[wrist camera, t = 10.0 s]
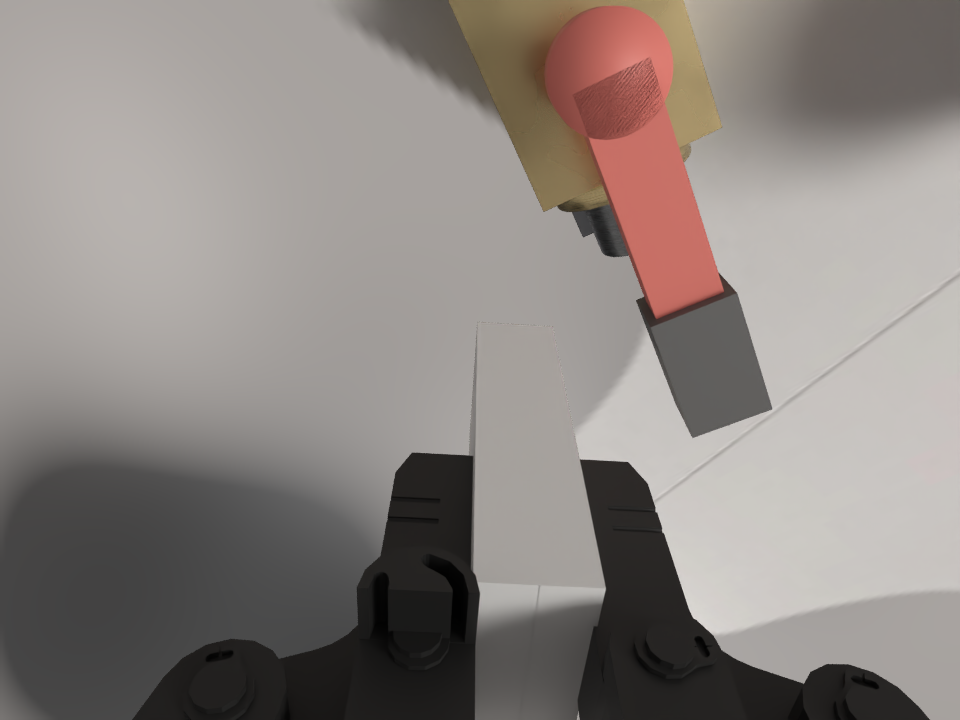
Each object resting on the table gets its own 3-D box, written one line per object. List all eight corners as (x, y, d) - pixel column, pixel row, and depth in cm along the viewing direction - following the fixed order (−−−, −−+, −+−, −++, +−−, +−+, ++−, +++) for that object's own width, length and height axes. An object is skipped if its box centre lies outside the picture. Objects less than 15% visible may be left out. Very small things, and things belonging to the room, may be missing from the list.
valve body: (409, -102, 27) (375, -154, 18) (570, -200, 25) (615, -306, 17) (563, 243, 33) (592, 323, 25) (698, 181, 32) (776, 244, 23)
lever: (525, 39, 21) (530, 42, 19) (636, -17, 20) (654, -20, 18) (668, 406, 27) (684, 440, 25) (756, 374, 26) (780, 406, 24)
